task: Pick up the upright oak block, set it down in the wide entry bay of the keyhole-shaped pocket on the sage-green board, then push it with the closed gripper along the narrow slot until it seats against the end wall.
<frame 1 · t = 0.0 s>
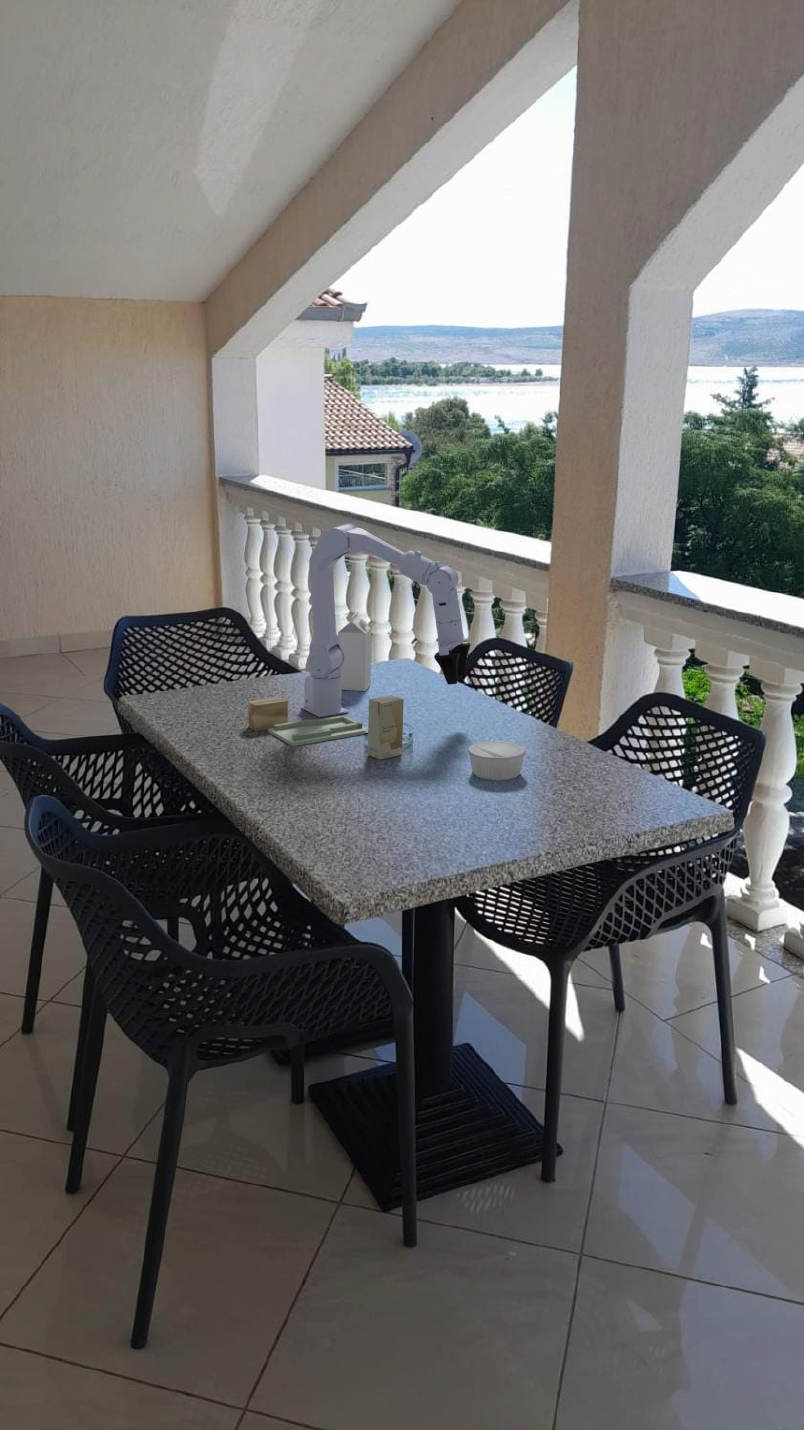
hand: (456, 680, 251), 11 cm above the table, tool pointing down, fingers open, 7 cm apart
ramekin: (495, 774, 222), on the table
milk carton: (354, 688, 285), on the table
panel block: (268, 726, 251), on the table
skincare box: (385, 756, 232), on the table
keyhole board: (320, 732, 247), on the table
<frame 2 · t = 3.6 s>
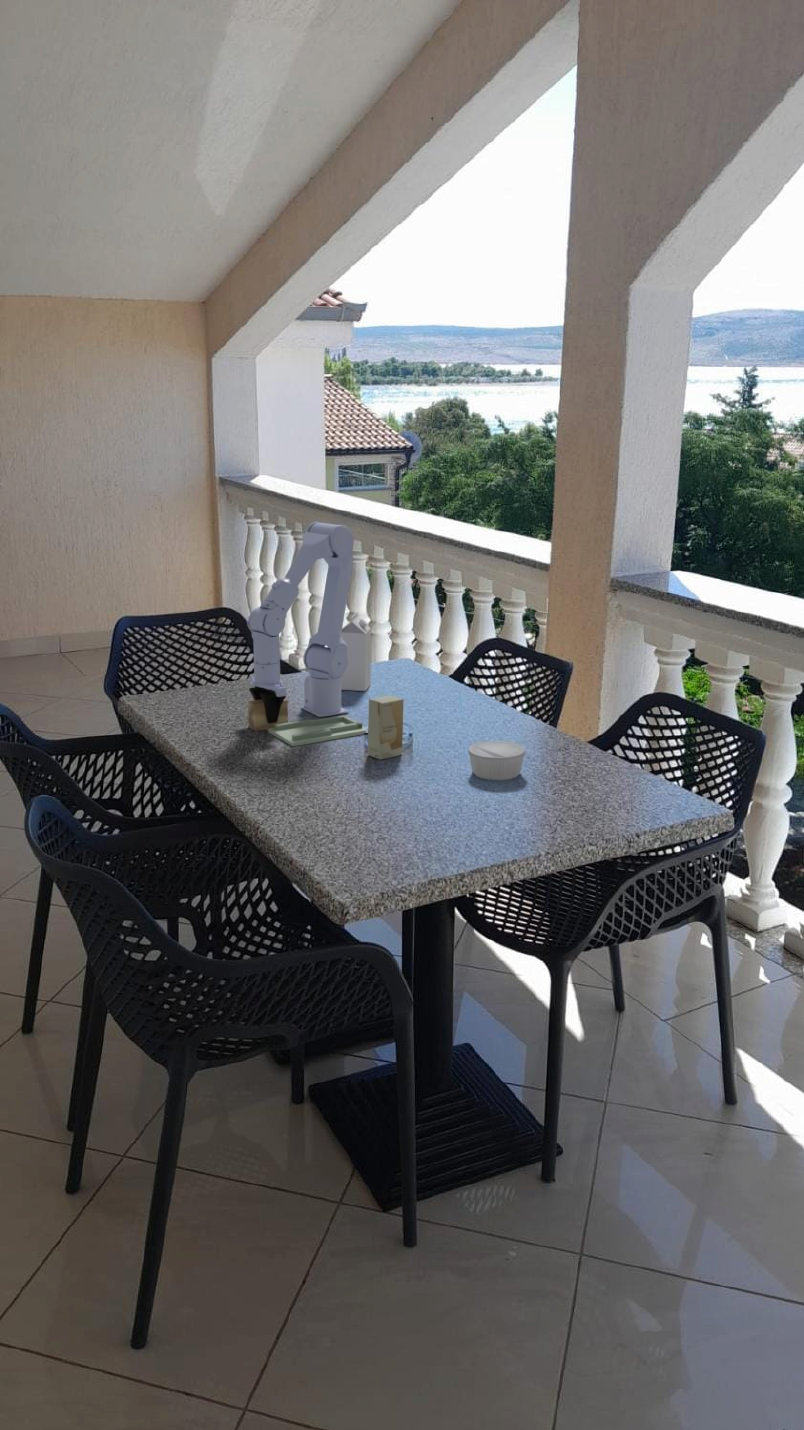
hand: (268, 720, 250), 1 cm above the table, tool pointing down, fingers closed on panel block, 4 cm apart
panel block: (268, 726, 251), on the table, touching gripper
everything else where it was.
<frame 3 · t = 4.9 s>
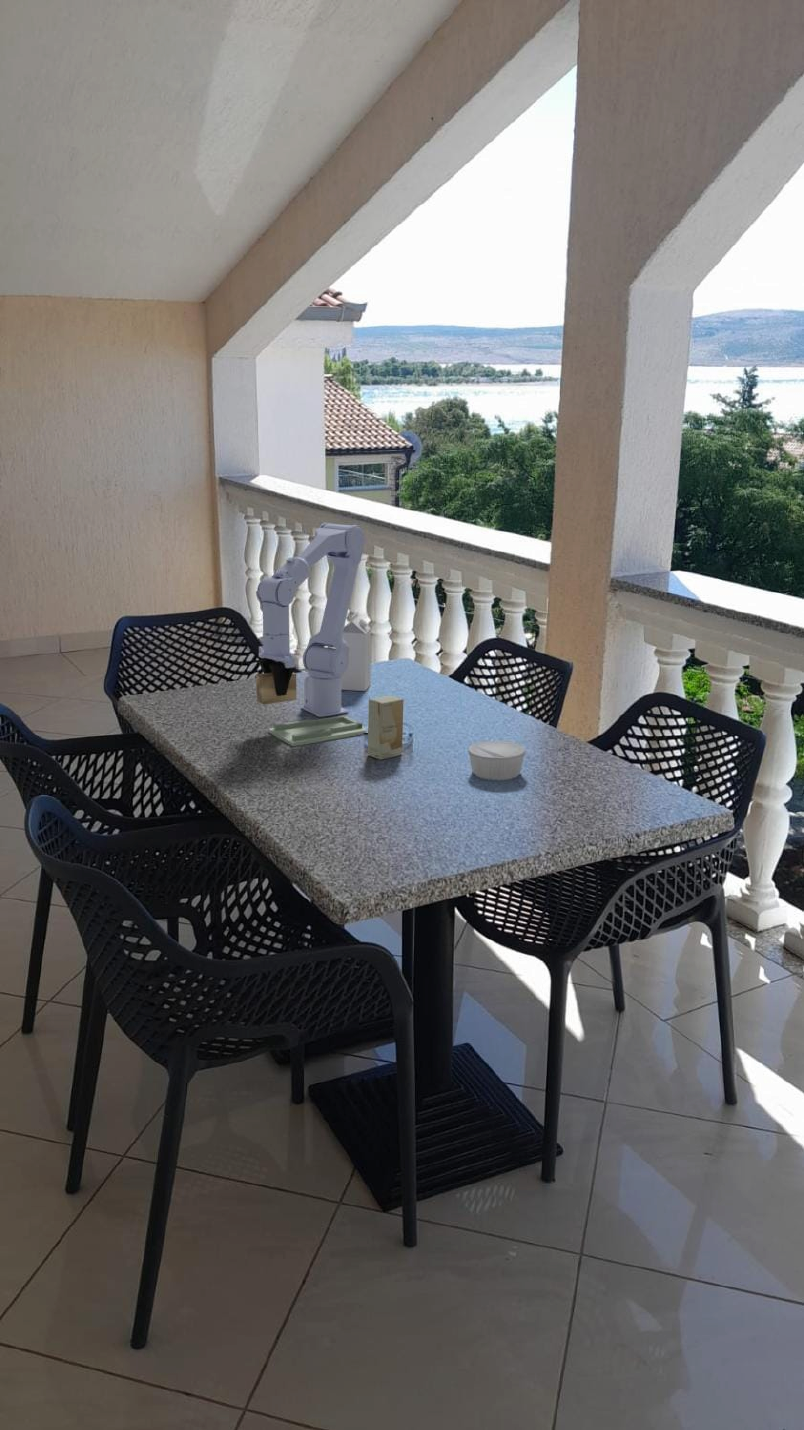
hand: (277, 692, 246), 8 cm above the table, tool pointing down, fingers closed on panel block, 4 cm apart
panel block: (276, 700, 247), point 7 cm above the table, touching gripper
everything else where it was.
when the fingers open (3 cm above the table, at t = 6.3 s): panel block stays where it is, resting on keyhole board.
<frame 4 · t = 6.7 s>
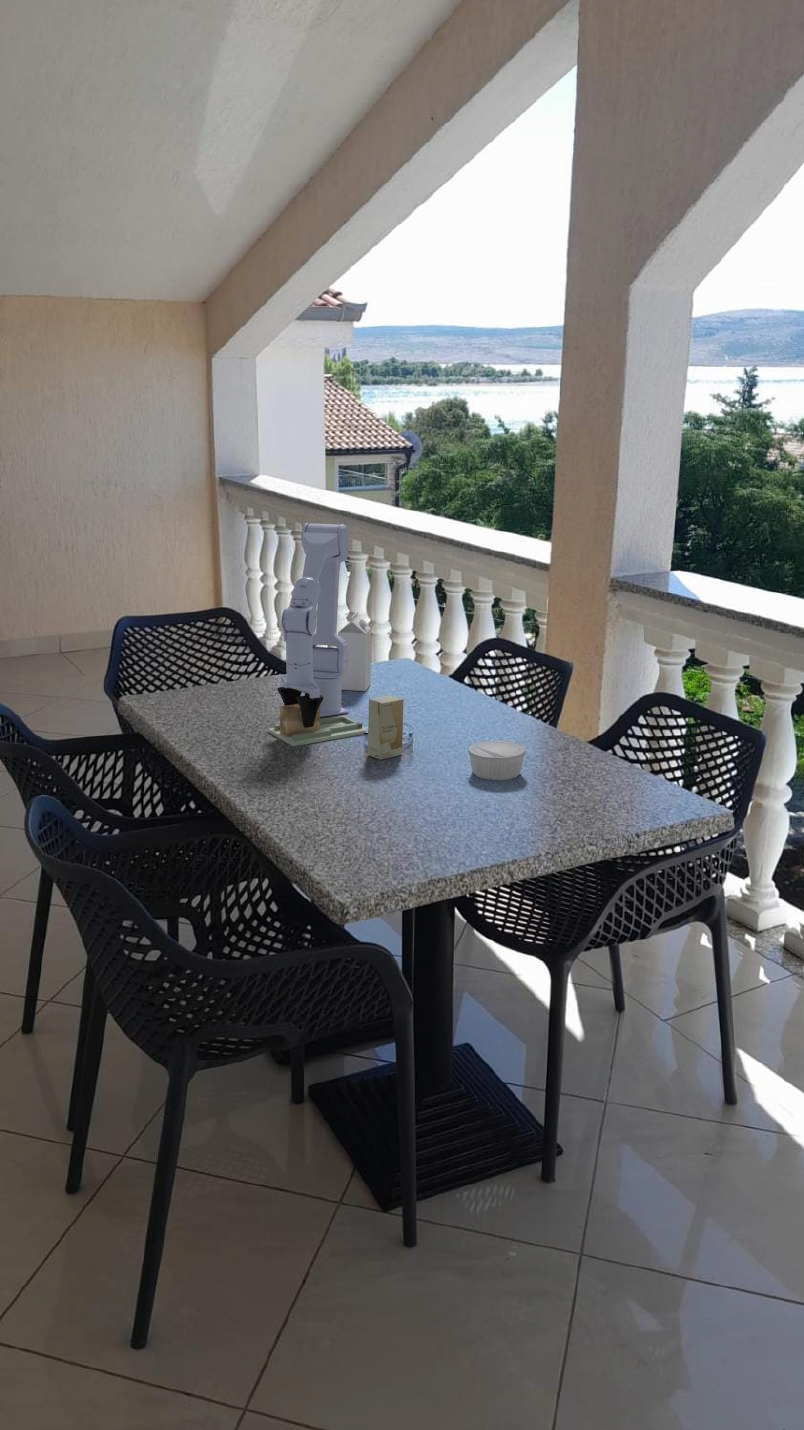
hand: (300, 722, 243), 3 cm above the table, tool pointing down, fingers open, 7 cm apart
panel block: (300, 732, 244), point 1 cm above the table, touching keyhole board
everything else where it was.
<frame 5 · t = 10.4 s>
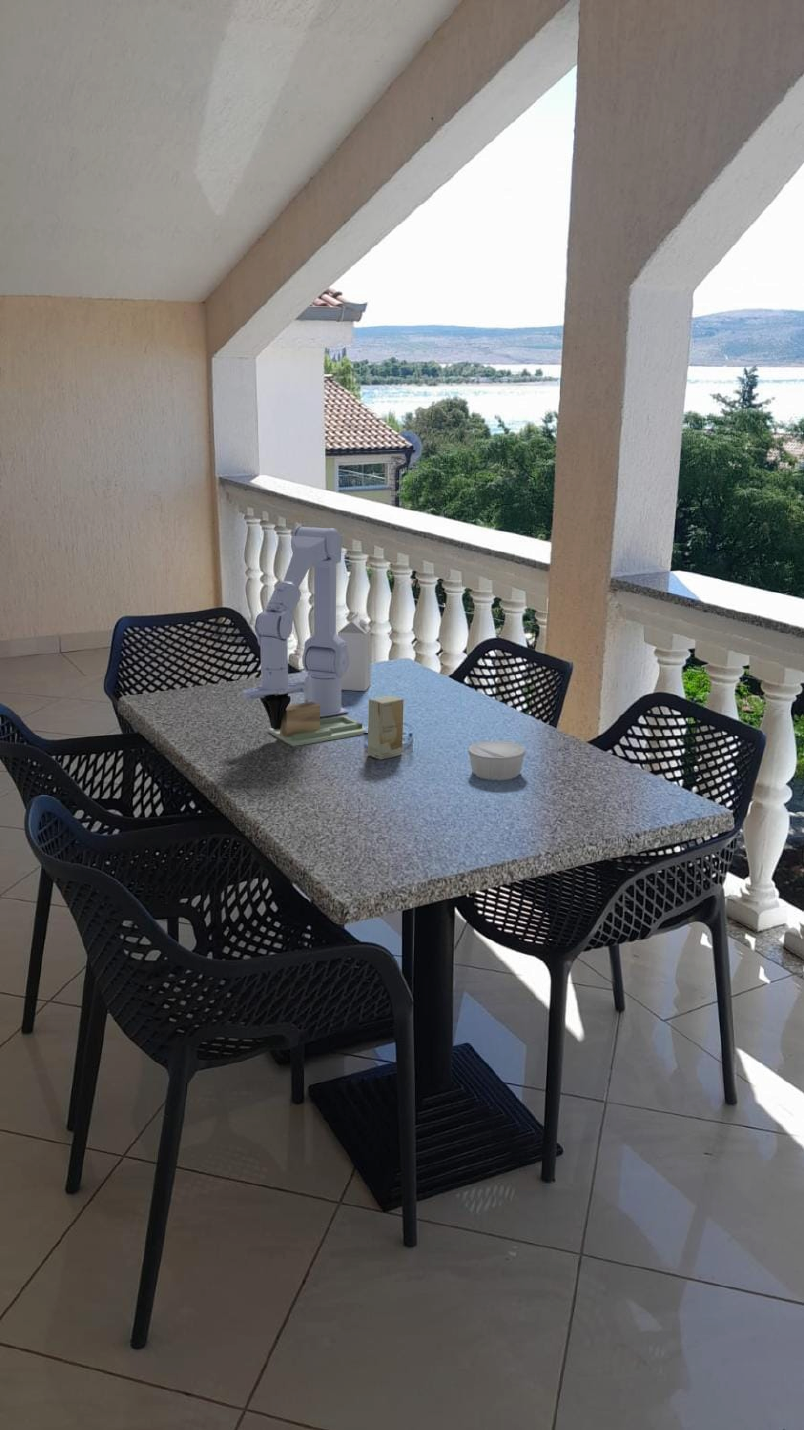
hand: (275, 728, 240), 3 cm above the table, tool pointing down, fingers closed
panel block: (300, 732, 244), point 1 cm above the table, touching gripper, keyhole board
everything else where it was.
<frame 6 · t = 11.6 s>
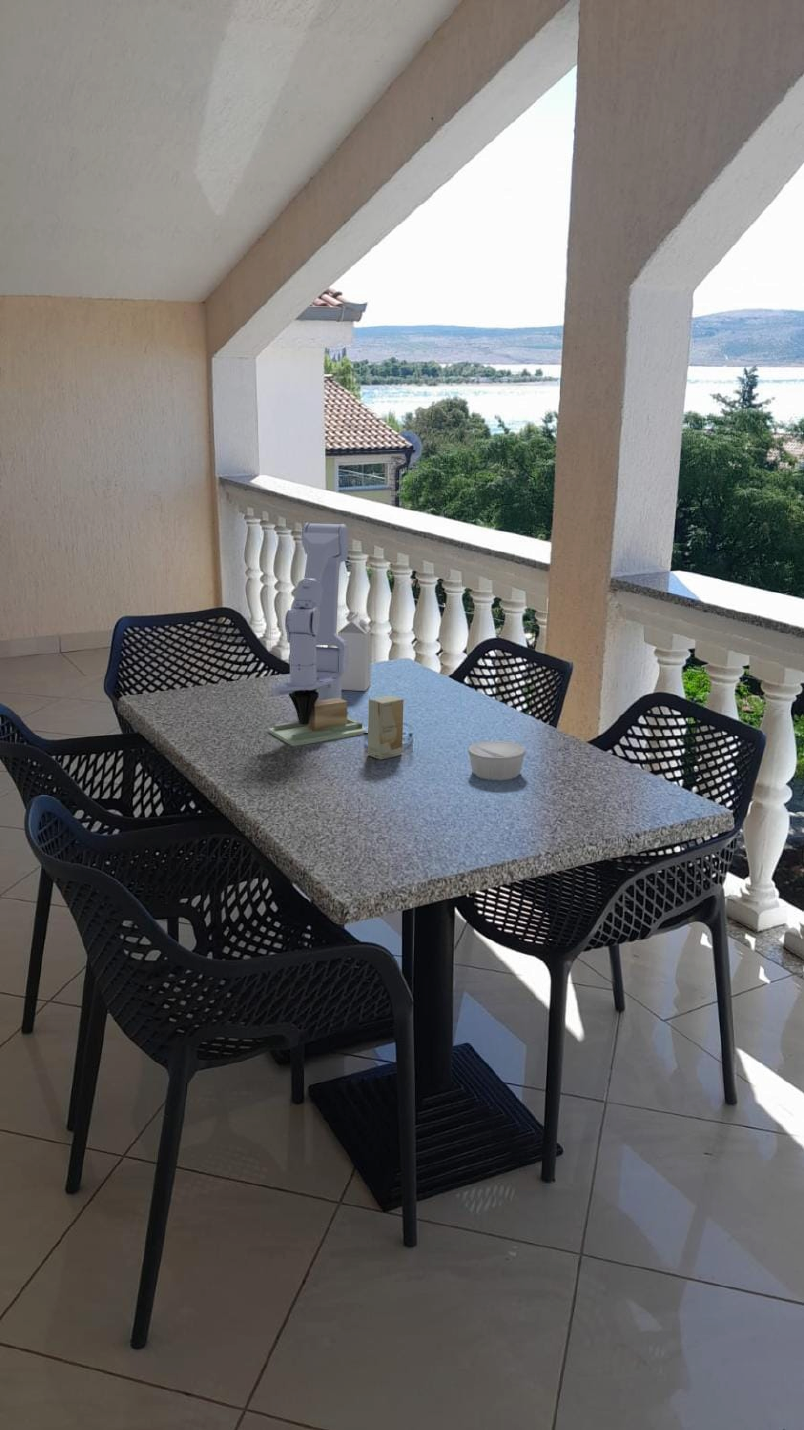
hand: (303, 723, 244), 3 cm above the table, tool pointing down, fingers closed
panel block: (327, 727, 247), point 1 cm above the table, touching gripper, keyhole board
everything else where it was.
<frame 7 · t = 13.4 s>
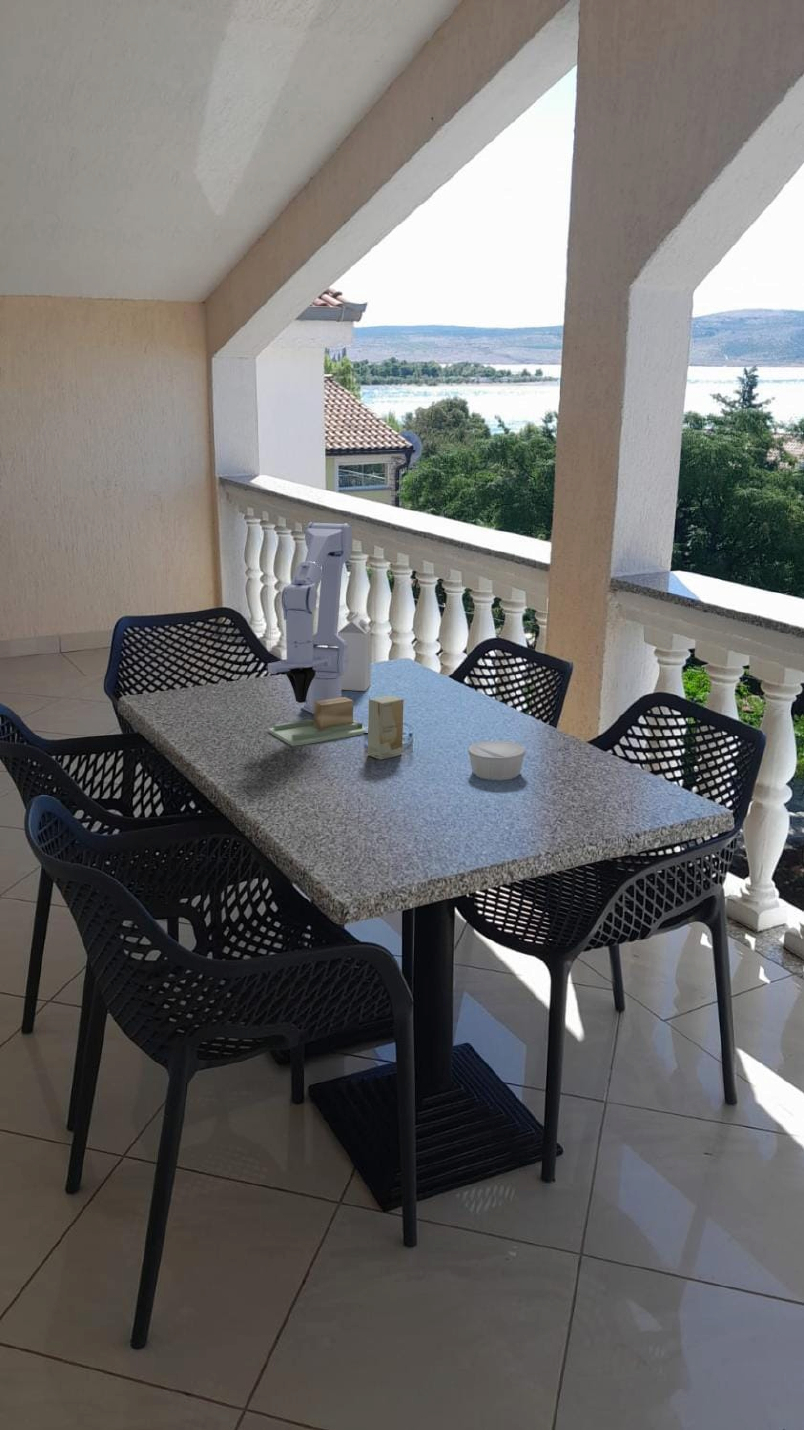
hand: (300, 701, 242), 8 cm above the table, tool pointing down, fingers closed
panel block: (333, 726, 248), point 1 cm above the table, touching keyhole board
everything else where it was.
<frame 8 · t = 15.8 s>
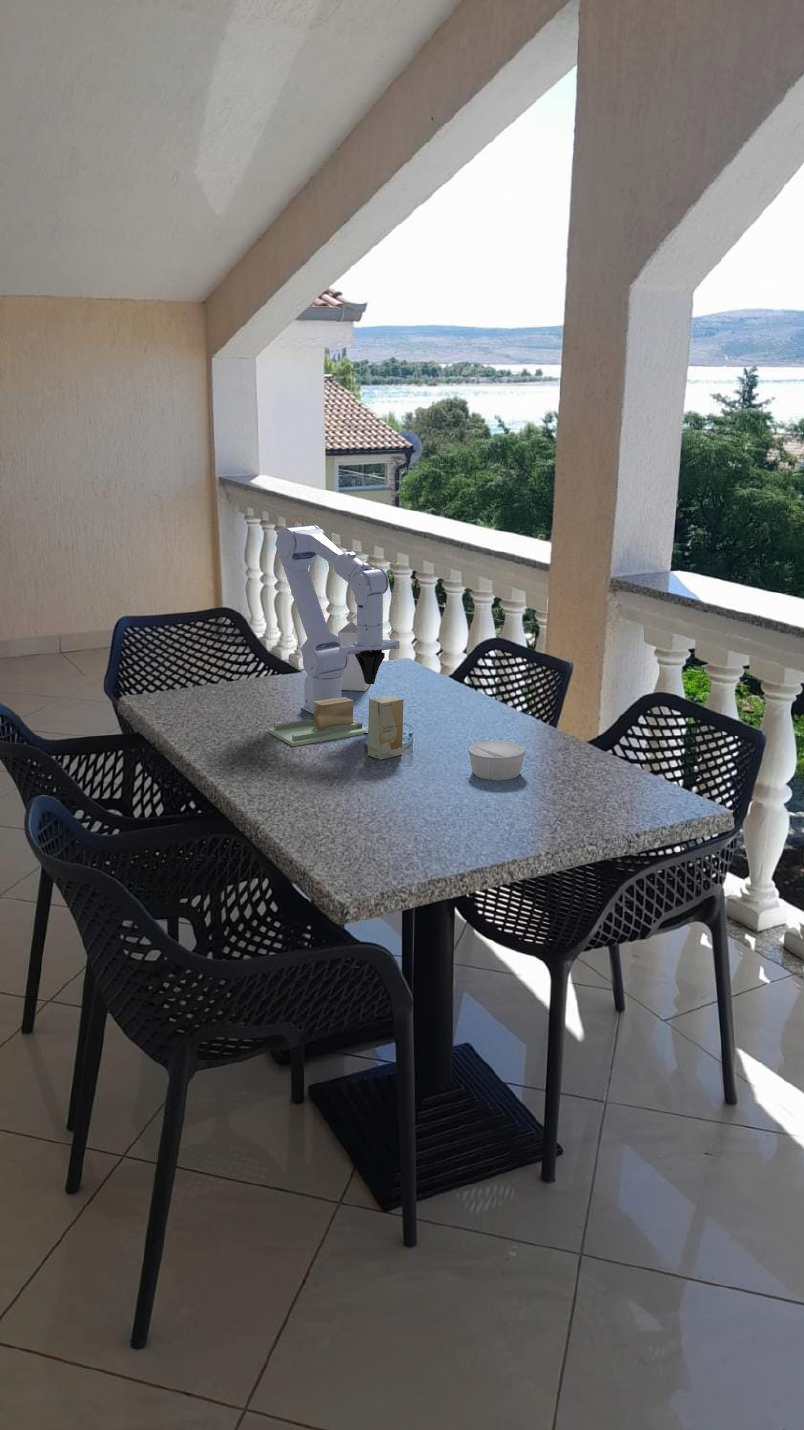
hand: (369, 683, 250), 10 cm above the table, tool pointing down, fingers closed
nothing on the table moved.
at the end: panel block 0.5 cm from the target spot on the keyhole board, point 0.8 cm above the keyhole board's base; panel block tilted 0°; the gripper is holding nothing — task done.
